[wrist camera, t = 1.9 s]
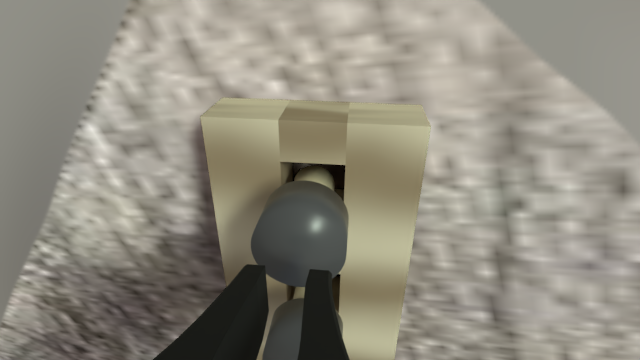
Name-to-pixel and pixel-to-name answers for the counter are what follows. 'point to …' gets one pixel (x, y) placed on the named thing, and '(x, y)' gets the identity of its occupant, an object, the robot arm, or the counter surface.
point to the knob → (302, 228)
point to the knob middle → (287, 329)
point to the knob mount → (358, 194)
